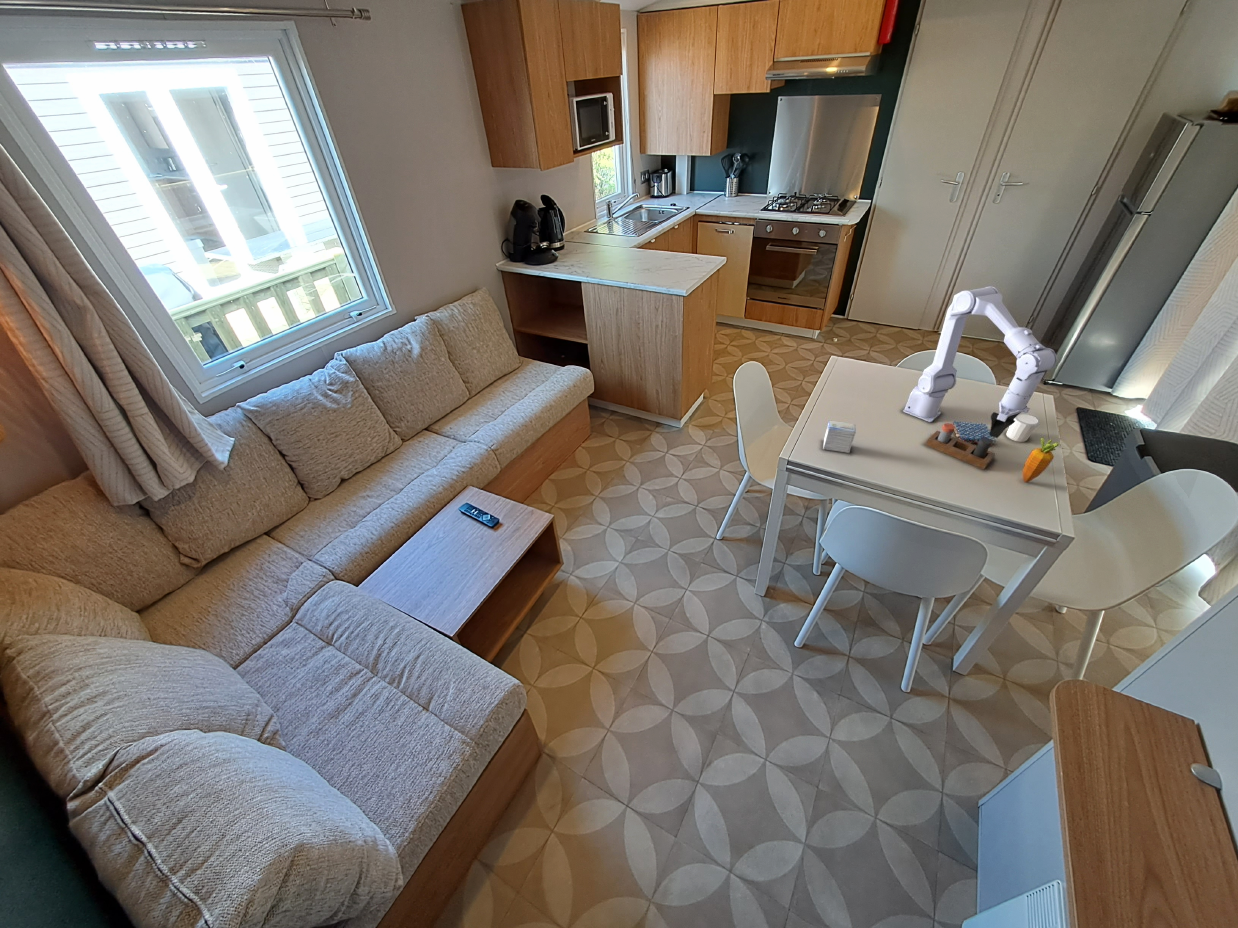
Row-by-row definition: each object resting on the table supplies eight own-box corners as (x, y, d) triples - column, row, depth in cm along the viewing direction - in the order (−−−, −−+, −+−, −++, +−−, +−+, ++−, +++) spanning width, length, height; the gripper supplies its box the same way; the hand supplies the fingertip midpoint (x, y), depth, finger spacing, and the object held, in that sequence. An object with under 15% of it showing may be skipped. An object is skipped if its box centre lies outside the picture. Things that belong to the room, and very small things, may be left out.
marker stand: (925, 445, 157) (927, 439, 155) (934, 436, 160) (937, 430, 159) (983, 469, 147) (987, 463, 145) (992, 459, 150) (995, 453, 148)
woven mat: (984, 427, 162) (986, 422, 161) (995, 446, 155) (998, 441, 153) (949, 424, 165) (951, 419, 163) (958, 443, 157) (960, 438, 155)
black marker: (968, 459, 151) (978, 440, 146) (972, 455, 152) (982, 435, 147) (979, 464, 149) (990, 445, 144) (983, 459, 150) (994, 440, 145)
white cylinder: (1033, 443, 155) (1044, 425, 150) (1008, 442, 156) (1019, 424, 152) (1024, 431, 160) (1034, 413, 155) (1000, 429, 161) (1010, 411, 157)
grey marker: (933, 445, 157) (941, 426, 152) (937, 440, 158) (946, 421, 154) (943, 449, 155) (952, 430, 150) (947, 445, 156) (957, 426, 152)
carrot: (1010, 477, 144) (1036, 436, 134) (1027, 475, 144) (1053, 434, 134) (1022, 488, 140) (1049, 447, 130) (1039, 486, 140) (1067, 445, 131)
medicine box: (848, 445, 159) (855, 423, 153) (849, 453, 156) (856, 431, 150) (823, 441, 161) (829, 419, 156) (822, 449, 158) (828, 427, 152)
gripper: (1028, 406, 130) (1004, 447, 138) (1045, 386, 137) (1022, 425, 145) (998, 397, 134) (977, 436, 143) (1016, 377, 141) (996, 416, 150)
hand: (998, 430), depth 144 cm, fingers open, 7 cm apart
